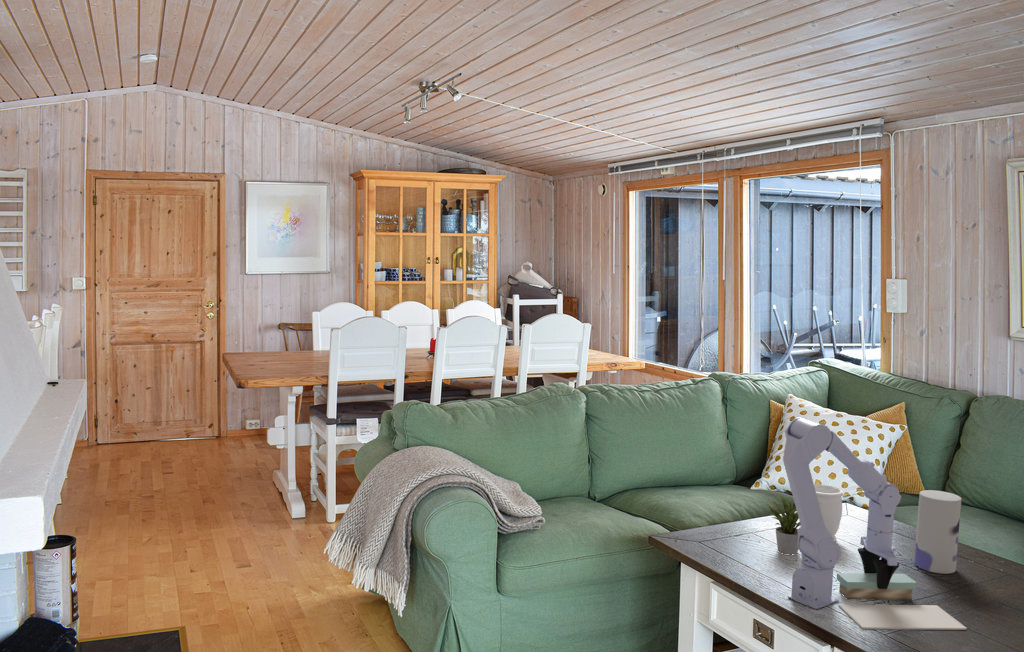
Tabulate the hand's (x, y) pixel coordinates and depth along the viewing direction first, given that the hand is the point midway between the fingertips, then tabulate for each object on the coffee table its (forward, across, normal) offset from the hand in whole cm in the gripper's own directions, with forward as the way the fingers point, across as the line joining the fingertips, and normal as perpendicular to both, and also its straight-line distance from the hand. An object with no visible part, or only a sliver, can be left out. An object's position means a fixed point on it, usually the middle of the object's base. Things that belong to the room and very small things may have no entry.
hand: (876, 583), depth 202 cm
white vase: (+3, +41, -4) cm, 41 cm away
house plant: (+3, +30, +9) cm, 31 cm away
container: (+3, +19, -26) cm, 33 cm away
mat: (+3, -12, 0) cm, 12 cm away
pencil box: (+3, 0, 0) cm, 3 cm away
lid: (0, 0, 0) cm, 0 cm away
